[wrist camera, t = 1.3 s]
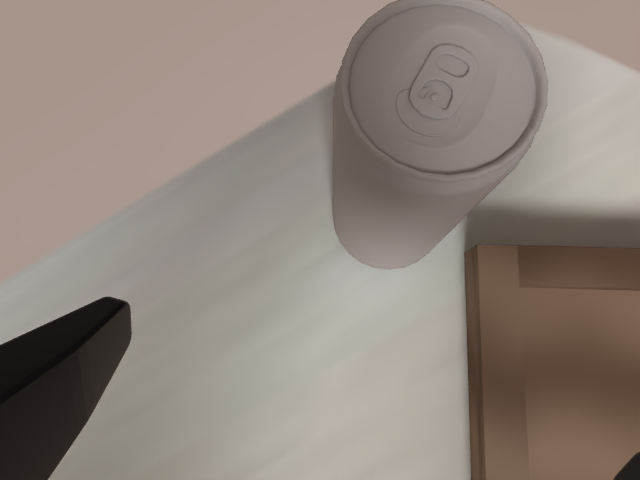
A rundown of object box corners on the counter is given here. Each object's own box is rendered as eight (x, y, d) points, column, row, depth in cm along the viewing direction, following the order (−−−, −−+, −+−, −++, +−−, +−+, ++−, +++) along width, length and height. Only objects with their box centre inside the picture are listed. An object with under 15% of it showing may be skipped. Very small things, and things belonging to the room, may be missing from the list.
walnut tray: (786, 565, 19) (837, 590, 17) (473, 552, 20) (489, 574, 18) (740, 260, 22) (780, 252, 20) (464, 253, 22) (477, 244, 20)
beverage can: (313, 238, 23) (292, 120, 11) (364, 150, 23) (397, -47, 12) (408, 291, 22) (495, 227, 10) (457, 199, 23) (591, 42, 11)
